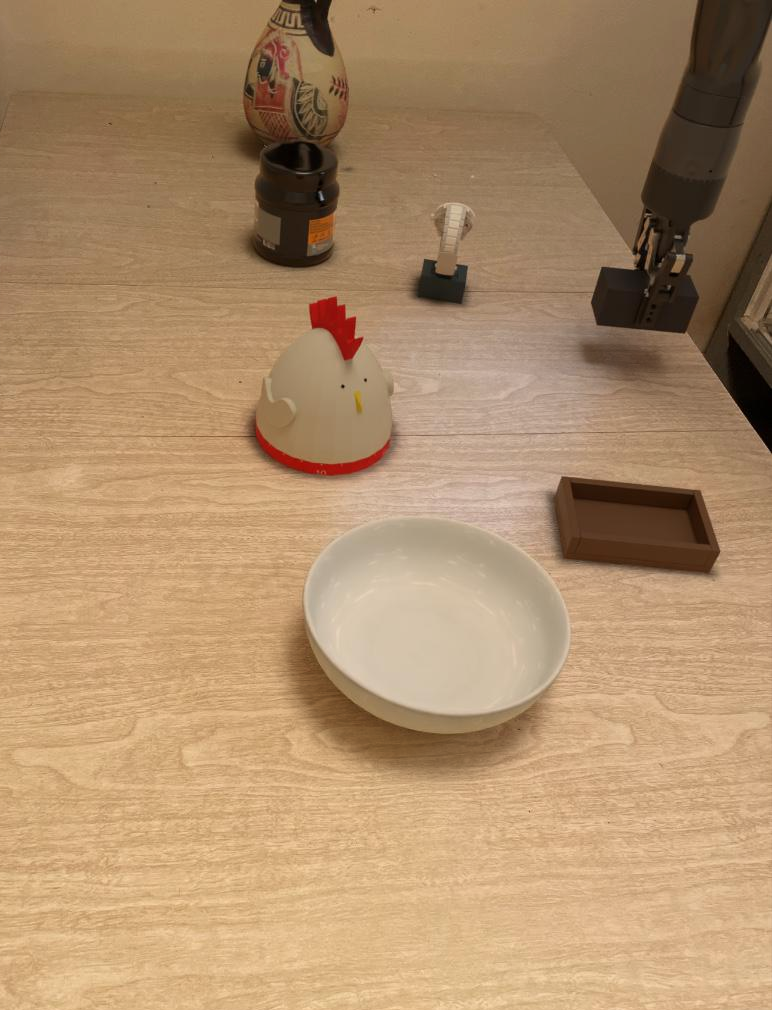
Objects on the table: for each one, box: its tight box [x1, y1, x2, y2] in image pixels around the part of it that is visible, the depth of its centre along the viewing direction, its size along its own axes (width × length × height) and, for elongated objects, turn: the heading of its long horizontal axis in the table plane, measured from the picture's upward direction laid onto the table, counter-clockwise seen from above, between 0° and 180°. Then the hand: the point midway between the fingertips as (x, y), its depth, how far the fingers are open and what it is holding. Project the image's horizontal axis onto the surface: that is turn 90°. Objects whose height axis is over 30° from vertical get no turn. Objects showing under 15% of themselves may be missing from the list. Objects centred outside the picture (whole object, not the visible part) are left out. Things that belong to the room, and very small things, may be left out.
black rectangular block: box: [590, 266, 700, 335], centre depth 107 cm, size 10×5×4 cm, turn 87°
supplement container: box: [252, 141, 341, 268], centre depth 120 cm, size 10×10×12 cm
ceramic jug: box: [242, 0, 350, 149], centre depth 134 cm, size 17×15×30 cm
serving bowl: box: [301, 514, 573, 735], centre depth 77 cm, size 21×21×7 cm
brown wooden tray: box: [553, 475, 721, 574], centre depth 91 cm, size 14×9×3 cm, turn 87°
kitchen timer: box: [254, 295, 395, 476], centre depth 93 cm, size 14×14×15 cm
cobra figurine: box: [416, 202, 476, 305], centre depth 116 cm, size 6×8×11 cm
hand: (638, 312), depth 109 cm, fingers closed on black rectangular block, 5 cm apart
